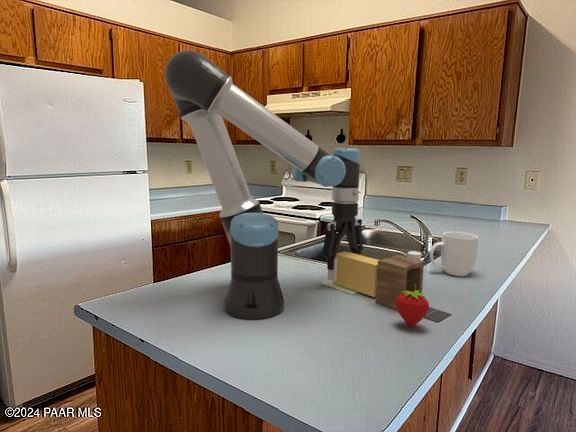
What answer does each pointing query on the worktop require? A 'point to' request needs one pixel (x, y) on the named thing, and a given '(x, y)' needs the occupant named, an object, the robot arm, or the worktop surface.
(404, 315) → the strawberry
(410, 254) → the pill bottle
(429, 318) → the dark grey flat pad
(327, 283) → the pad
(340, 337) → the worktop surface
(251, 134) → the robot arm
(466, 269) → the mug
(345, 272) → the tan rectangular block
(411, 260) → the tunnel
